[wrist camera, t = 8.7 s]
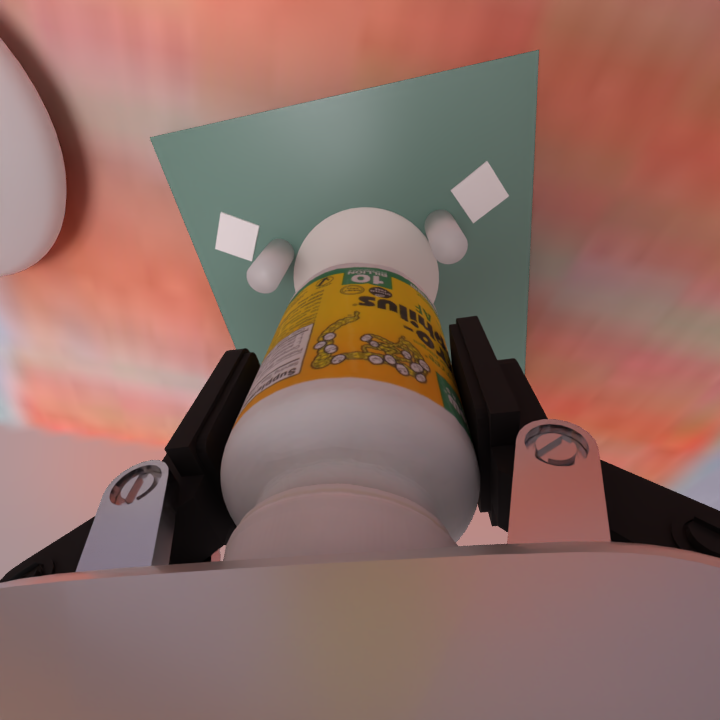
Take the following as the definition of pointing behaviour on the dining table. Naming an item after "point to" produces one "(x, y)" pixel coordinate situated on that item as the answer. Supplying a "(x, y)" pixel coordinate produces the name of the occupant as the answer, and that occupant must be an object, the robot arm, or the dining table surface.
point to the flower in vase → (27, 171)
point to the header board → (370, 197)
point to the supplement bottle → (351, 427)
